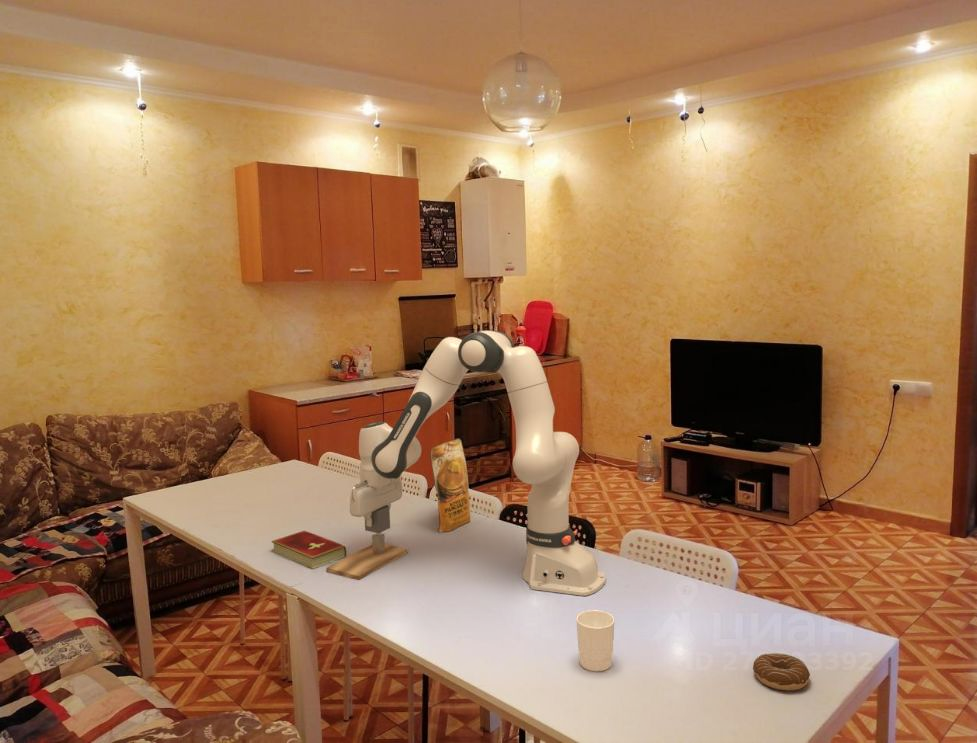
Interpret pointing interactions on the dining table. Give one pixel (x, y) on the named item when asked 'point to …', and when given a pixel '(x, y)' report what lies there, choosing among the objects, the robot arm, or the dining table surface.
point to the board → (366, 562)
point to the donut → (781, 671)
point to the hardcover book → (309, 549)
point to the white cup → (595, 639)
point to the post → (378, 543)
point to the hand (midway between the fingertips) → (377, 522)
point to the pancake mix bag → (451, 485)
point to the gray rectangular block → (379, 520)
